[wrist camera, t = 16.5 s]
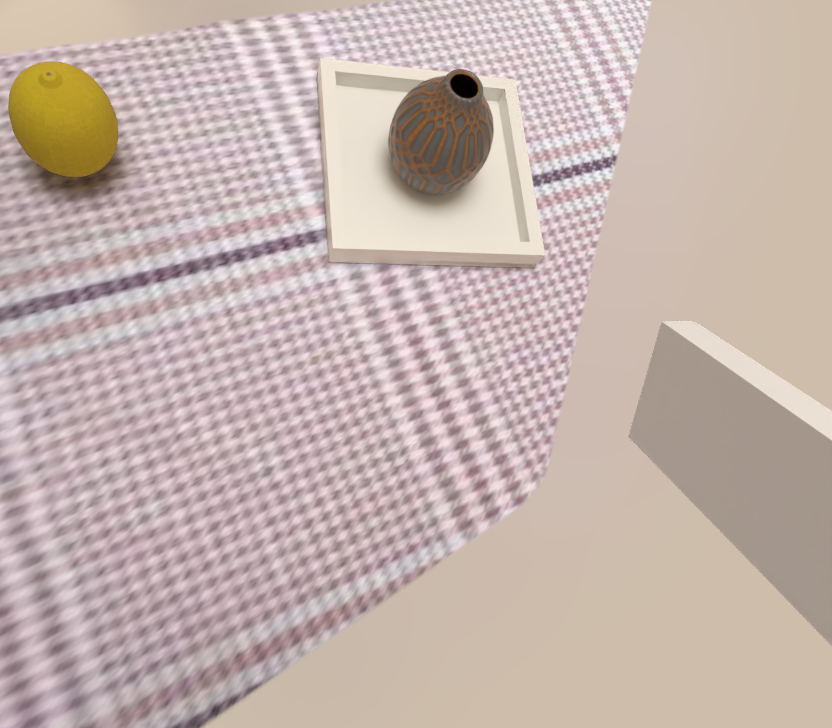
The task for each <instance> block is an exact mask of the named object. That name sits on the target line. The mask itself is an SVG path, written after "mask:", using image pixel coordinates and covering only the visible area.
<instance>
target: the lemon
mask: <svg viewBox="0 0 832 728" xmlns="http://www.w3.org/2000/svg"><path fill="white" fill-rule="evenodd" d="M8 107H9V116H10V120H11V124H12V128H13V132H14V134H15V136H16V138H17V140H18V141H19V143H20V145H21V146H22V148H23V149H24V151H25V152H26V153H27V154H28V155H29V156H30V157H31V158H32V159H33V160H34V161H35V162H36V163H37V164H38V165H40V166H41V167H43V168H45V169H46V170H48V171H50V172H52V173H55V174H58V175H62V176H66V177H83V176H87V175H90V174H94V173H95V172H97V171H99V170H101V169H102V168H103V167H104V166H105V165H106V164H107V163H108V162H109V161H110V160H111V158H112V156H113V154H114V152H115V150H116V146H117V141H118V125H117V118H116V115H115V112H114V110H113V107H112V105H111V103H110V101H109V99H108V97H107V95H106V94H105V92H104V91H103V90H102V88H101V87H100V86H99V85H98V84H97V82H96V81H95V80H94V79H93V78H92V77H91V76H89V75H88V74H87V73H85V72H84V71H82V70H81V69H79V68H76V67H74V66H72V65H69V64H65V63H61V62H43V63H38V64H36V65H33V66H30V67H29V68H27V69H26V70H24V71H23V72H21V74H20V75H19V76H18V77H17V78H16V79H15V81H14V83H13V85H12V88H11V90H10V95H9V106H8Z"/></svg>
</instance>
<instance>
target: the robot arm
mask: <svg viewBox="0 0 832 728" xmlns="http://www.w3.org/2000/svg"><path fill="white" fill-rule="evenodd" d="M629 438H630V439H631V440H632V441H633V442H634V443H635V444H636V445H637V446H638V447H639V448H640V449H641V450H642V451H643V452H644V453H645V454H646V455H647V456H648V457H649V458H650V459H651V460H652V461H653V462H654V463H655V465H657V467H658V468H659V469H660V470H661V471H662V472H663V473H664V474H665V475H666V476H667V477H668V478H669V479H670V480H671V481H672V482H673V483H674V484H675V485H676V486H677V487H678V488H679V489H680V490H681V491H682V492H683V493H684V494H685V495H686V496H687V497H688V498H689V500H691V502H692V503H693V504H694V505H695V506H696V507H697V508H698V509H699V510H700V511H701V512H702V513H703V514H704V515H705V516H706V517H707V518H708V519H709V520H710V521H711V522H712V523H713V524H714V525H715V526H716V527H717V528H718V529H719V530H720V531H721V532H722V533H723V534H724V536H725V537H727V539H729V541H730V542H731V543H732V544H733V545H734V546H735V547H736V548H737V549H738V550H739V551H740V552H741V553H742V554H743V555H744V556H745V557H746V558H747V559H748V560H749V561H750V562H751V563H752V564H753V565H754V566H755V567H756V568H757V569H758V570H759V572H760V573H761V574H763V576H764V577H765V578H766V579H767V580H768V581H769V582H770V583H771V584H772V585H773V586H774V587H775V588H776V589H777V590H778V591H779V592H780V593H781V594H782V595H783V596H784V597H785V598H786V599H787V600H788V601H789V602H790V603H791V604H792V605H793V606H794V608H796V609H797V611H798V612H799V613H800V614H801V615H802V616H803V617H804V618H805V619H806V620H807V621H808V622H809V623H810V624H811V625H812V626H813V627H814V628H815V629H816V630H817V631H818V632H819V633H820V634H821V635H822V636H823V637H824V638H825V639H826V640H827V641H828V642H829V643H830V645H832V411H831V410H829V409H828V408H826V407H825V406H823V405H821V404H820V403H818V402H817V401H816V400H814V399H812V398H811V397H809V396H808V395H806V394H805V393H803V392H802V391H800V390H799V389H797V388H796V387H794V386H792V385H791V384H790V383H788V382H786V381H785V380H783V379H782V378H780V377H779V376H777V375H776V374H774V373H773V372H771V371H770V370H768V369H767V368H765V367H763V366H762V365H760V364H759V363H757V362H756V361H754V360H753V359H751V358H750V357H748V356H747V355H745V354H743V353H742V352H740V351H739V350H737V349H736V348H734V347H733V346H731V345H730V344H728V343H727V342H725V341H724V340H722V339H721V338H719V337H717V336H716V335H714V334H713V333H711V332H710V331H708V330H707V329H705V328H704V327H702V326H700V325H699V324H698V323H696V322H694V321H670V322H669V321H668V322H662V323H661V326H660V330H659V333H658V337H657V340H656V343H655V347H654V350H653V354H652V357H651V361H650V364H649V368H648V371H647V375H646V378H645V382H644V385H643V388H642V392H641V395H640V399H639V402H638V406H637V409H636V413H635V416H634V419H633V423H632V427H631V430H630V433H629Z"/></svg>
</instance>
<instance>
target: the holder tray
mask: <svg viewBox="0 0 832 728" xmlns="http://www.w3.org/2000/svg"><path fill="white" fill-rule="evenodd" d="M448 73H450V72H442V71H433V70H424V69H415V68H406V67H397V66H388V65H379V64H370V63H361V62H352V61H343V60H334V59H325V58H320V62H319V68H318V74H317V88H318V104H319V119H320V135H321V151H322V167H323V182H324V198H325V214H326V229H327V245H328V261H329V262H342V263H377V264H412V265H448V266H483V267H518V268H534V267H535V266H536V265H537V263H538V262H539V261H540V260H541V259H542V258H543V257H544V256H545V252H544V246H543V240H542V234H541V228H540V222H539V216H538V211H537V205H536V199H535V193H534V187H533V181H532V175H531V169H530V163H529V158H528V152H527V146H526V140H525V134H524V128H523V122H522V116H521V111H520V105H519V99H518V93H517V87H516V81H515V80H514V79H505V78H496V77H487V76H478V75H476V76H477V77H478V78H479V79H480V81H481V83H482V85H483V95H484V97H485V99H486V101H487V103H488V105H489V107H490V110H491V113H492V117H493V125H494V133H493V141H492V146H491V150H490V153H489V156H488V158H487V160H486V162H485V164H484V165H483V167H482V168H481V170H480V171H479V173H478V174H477V175H476V176H475V178H474V179H473V180H471V181H470V182H469V183H468V184H467V185H465V186H464V187H462V188H461V189H459V190H457V191H454V192H452V193H449V194H444V195H430V194H425V193H422V192H419V191H417V190H415V189H413V188H411V187H410V186H409V185H407V184H406V183H405V182H404V181H403V180H402V179H401V178H400V177H399V175H398V174H397V173H396V171H395V169H394V167H393V165H392V162H391V159H390V154H389V147H388V136H389V130H390V125H391V122H392V118H393V116H394V113H395V111H396V109H397V107H398V105H399V104H400V102H401V101H402V100H403V98H404V97H405V96H406V95H407V94H408V93H409V92H410V91H411V90H412V89H413V88H414V87H415V86H417V85H418V84H420V83H421V82H423V81H426V80H428V79H431V78H434V77H439V76H445V75H447V74H448Z"/></svg>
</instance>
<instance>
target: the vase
mask: <svg viewBox="0 0 832 728" xmlns="http://www.w3.org/2000/svg"><path fill="white" fill-rule="evenodd" d="M493 133H494V125H493V117H492V113H491V110H490V107H489V105H488V103H487V101H486V99H485V97H484V95H483V85H482V83H481V81H480V79H479V78H478V77H477V76H476V75H475V74H473V73H472V72H470V71H467V70H463V69H457V70H453V71H451V72H450V73H448V74H447V75H445V76H439V77H434V78H431V79H428V80H426V81H423V82H421V83H420V84H418V85H417V86H415V87H414V88H413V89H412V90H411V91H410V92H409V93H408V94H407V95H406V96H405V97H404V98H403V100H402V101H401V102H400V104H399V105H398V107H397V109H396V111H395V113H394V116H393V118H392V122H391V125H390V130H389V136H388V147H389V154H390V159H391V162H392V165H393V167H394V169H395V171H396V173H397V174H398V175H399V177H400V178H401V179H402V180H403V181H404V182H405V183H406V184H407V185H409V186H410V187H411V188H413V189H415V190H417V191H419V192H422V193H425V194H430V195H444V194H449V193H452V192H454V191H457V190H459V189H461V188H462V187H464V186H465V185H467V184H468V183H469V182H470V181H471V180H473V179H474V178H475V176H476V175H477V174H478V173H479V171H480V170H481V168H482V167H483V165H484V164H485V162H486V160H487V158H488V156H489V153H490V150H491V146H492V141H493Z"/></svg>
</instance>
